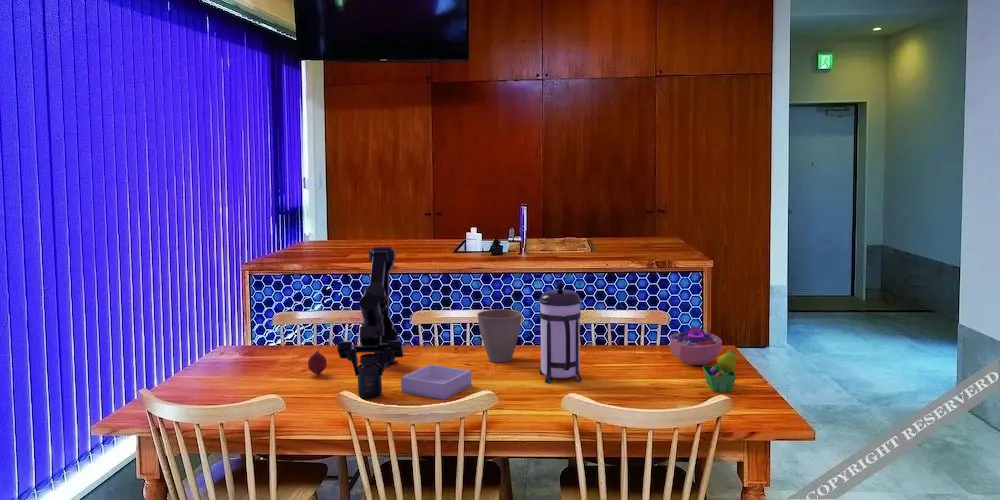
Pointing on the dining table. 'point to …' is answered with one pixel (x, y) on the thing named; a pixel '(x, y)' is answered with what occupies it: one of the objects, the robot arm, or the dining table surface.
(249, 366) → the dining table surface
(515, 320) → the plant pot
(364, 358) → the supplement bottle
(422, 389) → the purple bin
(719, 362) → the fruit basket
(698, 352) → the cell model
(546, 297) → the coffee press
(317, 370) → the onion
